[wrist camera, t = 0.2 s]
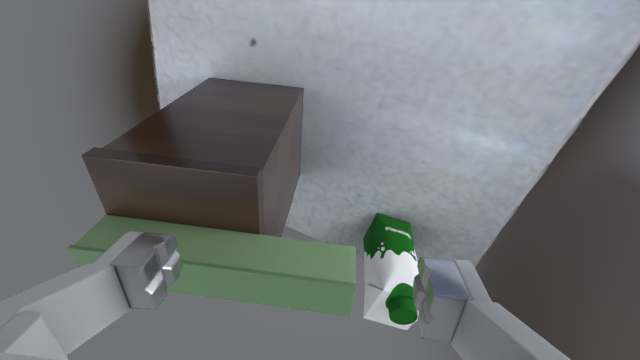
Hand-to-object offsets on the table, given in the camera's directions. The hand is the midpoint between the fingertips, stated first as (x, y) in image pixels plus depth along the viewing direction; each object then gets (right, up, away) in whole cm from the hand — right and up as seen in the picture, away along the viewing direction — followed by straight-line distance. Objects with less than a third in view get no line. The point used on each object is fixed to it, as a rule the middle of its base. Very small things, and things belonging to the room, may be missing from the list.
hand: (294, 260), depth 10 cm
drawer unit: (-10, +11, +41) cm, 44 cm away
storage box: (-8, -4, +19) cm, 21 cm away
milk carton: (+14, -7, +51) cm, 53 cm away
